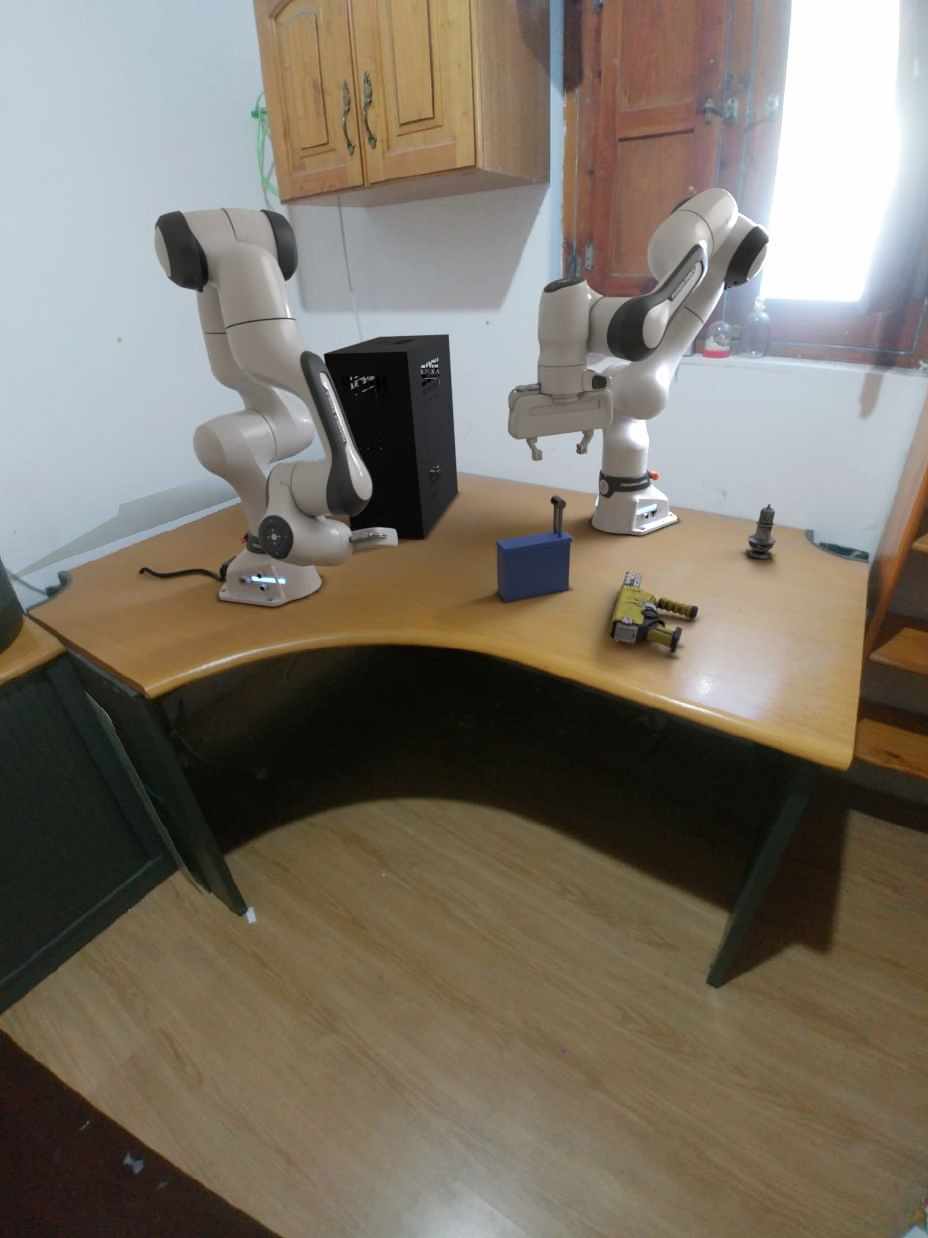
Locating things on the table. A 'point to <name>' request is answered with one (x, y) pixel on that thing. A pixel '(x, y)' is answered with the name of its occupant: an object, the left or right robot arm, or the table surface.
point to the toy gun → (645, 616)
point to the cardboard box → (400, 428)
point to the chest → (533, 572)
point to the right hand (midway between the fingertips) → (559, 456)
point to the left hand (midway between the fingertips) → (366, 547)
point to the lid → (543, 538)
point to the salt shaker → (762, 535)
